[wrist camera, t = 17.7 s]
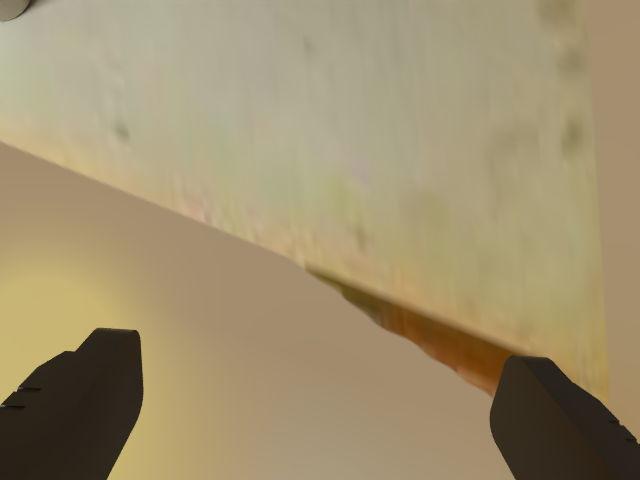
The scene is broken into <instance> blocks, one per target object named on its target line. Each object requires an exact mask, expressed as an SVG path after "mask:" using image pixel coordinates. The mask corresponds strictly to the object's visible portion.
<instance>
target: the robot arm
mask: <svg viewBox="0 0 640 480" xmlns="http://www.w3.org/2000/svg"><path fill="white" fill-rule="evenodd" d="M29 2H30V0H0V22H3V21H8V20H10V19H13V18H15V17H17V16H18V15H19V14H21V13H22V12H23V11H24V9H25V8H26V7H27V6H28V4H29ZM141 358H142V357H141V341H140V335H139V333H138V332H137V330H126V329H111V328H97V329H95V330H94V331H93V332H92V333H91V334H90V335H89V337H88V338H87V339H86V340H85V341H84V342H83V343H82V344H81V345H80V347H79V348H78V349H77V350H76V351H75V352H72V351H64V352H63V353H61V354H59V355H57V356H56V357H54V358H52V359H51V360H49V361H47V362H46V363H44V364H42V365H41V366H39V367H37V368H36V369H35V370H34V371H33V373H31V375H30V376H29V377H28V378H27V379H26V380H25V381H24V382H23V383H22V384H21V385H20V386H19V387H18V390H17V392H13V393H12V394H11V395H10V396H9V397H8V398H7V399H6V400H5V401H4V402H3V403H2V404H1V405H0V480H107V478H108V476H109V474H110V472H111V470H112V468H113V466H114V464H115V462H116V460H117V459H118V457H119V455H120V453H121V451H122V449H123V447H124V445H125V443H126V441H127V439H128V437H129V435H130V433H131V431H132V429H133V428H134V425H135V424H136V421H137V419H138V417H139V414H140V410H141V406H142V401H143V374H142V359H141ZM490 428H491V432H492V435H493V438H494V441H495V443H496V445H497V446H498V448H499V450H500V452H501V453H502V456H503V457H504V459H505V461H506V463H507V465H508V467H509V468H510V470H511V472H512V474H513V476H514V477H515V479H516V480H640V444H638V443H637V439H636V438H635V437H634V436H633V435H632V434H631V433H630V432H629V431H628V430H627V429H626V428H625V427H624V426H622V425H620V424H619V420H618V419H617V418H616V417H615V416H614V415H613V414H612V413H611V412H610V411H609V410H608V409H607V408H606V407H605V406H604V405H603V404H602V403H601V402H600V401H599V400H598V399H597V398H595V397H594V396H592V395H591V394H589V393H588V392H586V391H585V390H583V389H582V388H581V387H579V386H578V385H576V384H575V383H572V381H571V380H570V379H569V378H568V377H567V376H566V375H565V374H564V373H563V372H562V371H561V370H560V369H559V368H558V366H557V365H556V364H555V363H554V362H553V361H552V360H550V359H549V358H546V357H531V356H516V355H512V356H510V357H508V359H507V360H506V362H505V364H504V367H503V371H502V374H501V377H500V380H499V384H498V387H497V390H496V394H495V397H494V400H493V404H492V407H491V411H490Z"/></svg>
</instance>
